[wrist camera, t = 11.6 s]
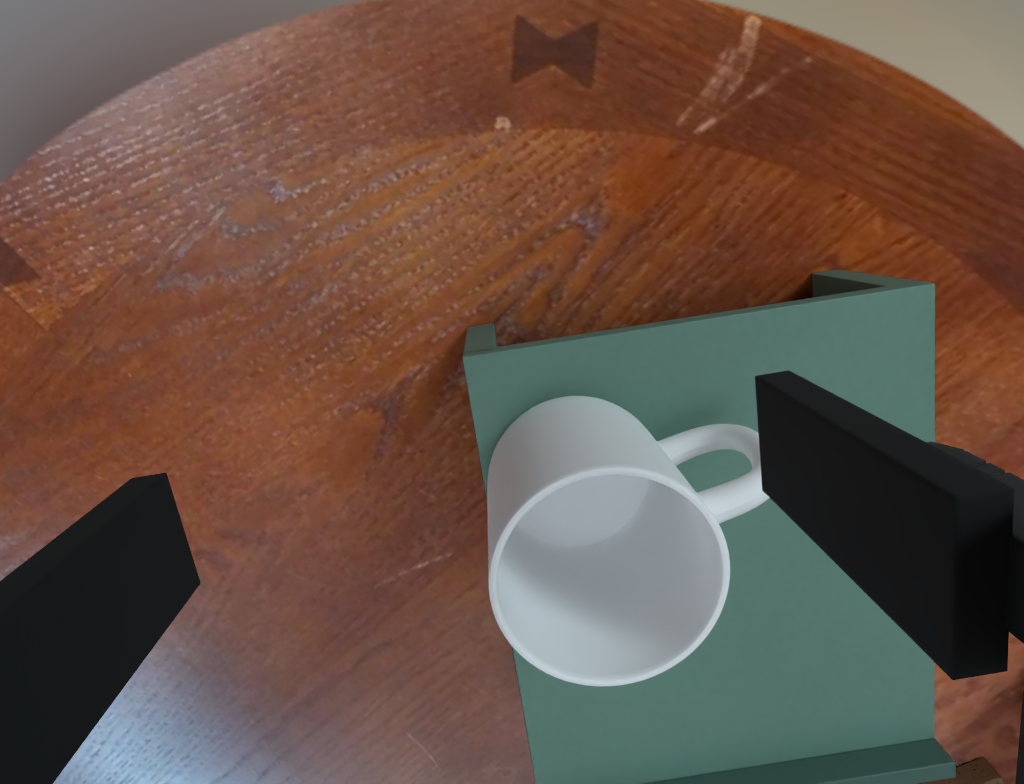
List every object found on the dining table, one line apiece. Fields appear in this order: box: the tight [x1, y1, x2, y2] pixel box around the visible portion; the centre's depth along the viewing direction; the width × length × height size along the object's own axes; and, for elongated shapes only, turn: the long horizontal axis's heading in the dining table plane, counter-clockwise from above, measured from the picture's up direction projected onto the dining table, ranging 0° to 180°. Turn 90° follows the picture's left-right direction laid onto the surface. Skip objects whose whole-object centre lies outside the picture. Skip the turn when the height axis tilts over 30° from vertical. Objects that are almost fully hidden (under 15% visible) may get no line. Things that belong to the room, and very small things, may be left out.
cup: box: [487, 396, 770, 686], centre depth 28 cm, size 8×12×10 cm
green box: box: [462, 269, 956, 784], centre depth 38 cm, size 26×22×11 cm
